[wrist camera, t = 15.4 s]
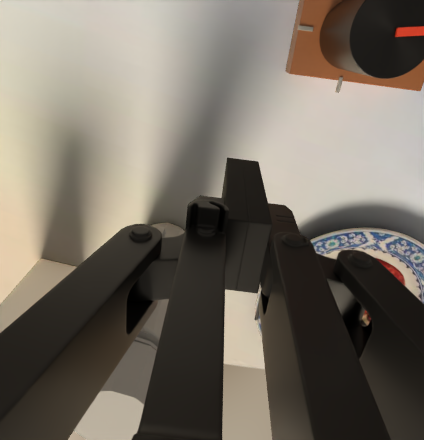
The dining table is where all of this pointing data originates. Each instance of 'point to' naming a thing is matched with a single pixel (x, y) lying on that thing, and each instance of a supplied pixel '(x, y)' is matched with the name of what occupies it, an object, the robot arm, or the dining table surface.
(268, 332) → the robot arm
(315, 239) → the ceramic plate
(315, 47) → the control panel
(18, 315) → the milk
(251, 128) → the dining table surface
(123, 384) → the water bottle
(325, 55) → the knob
